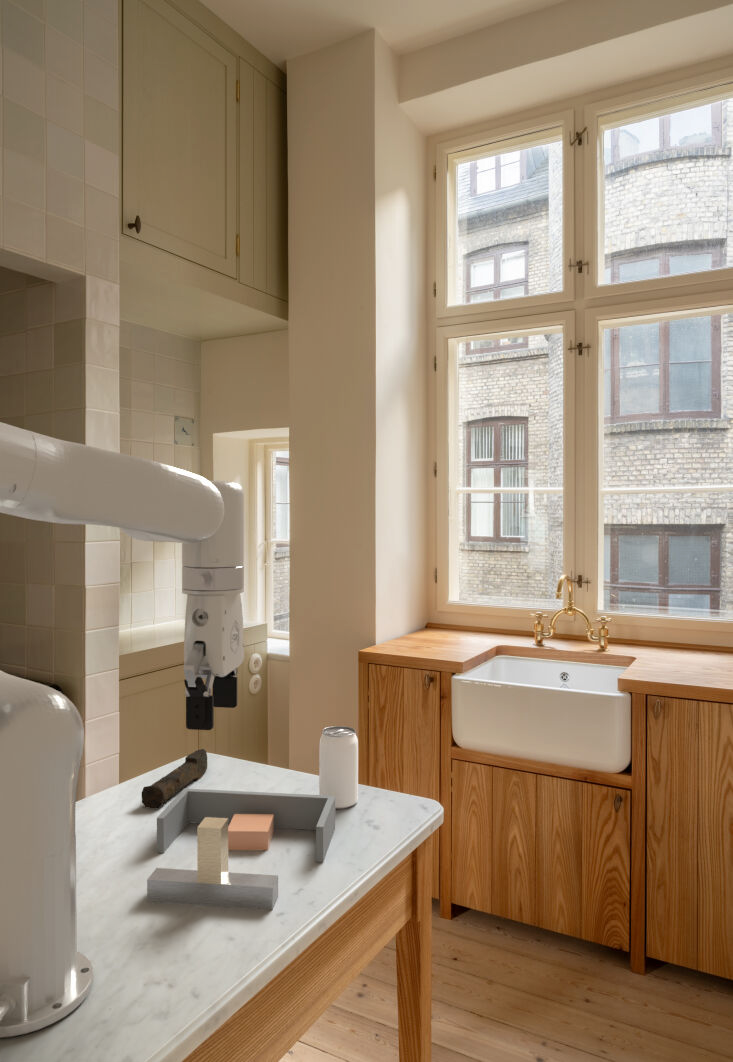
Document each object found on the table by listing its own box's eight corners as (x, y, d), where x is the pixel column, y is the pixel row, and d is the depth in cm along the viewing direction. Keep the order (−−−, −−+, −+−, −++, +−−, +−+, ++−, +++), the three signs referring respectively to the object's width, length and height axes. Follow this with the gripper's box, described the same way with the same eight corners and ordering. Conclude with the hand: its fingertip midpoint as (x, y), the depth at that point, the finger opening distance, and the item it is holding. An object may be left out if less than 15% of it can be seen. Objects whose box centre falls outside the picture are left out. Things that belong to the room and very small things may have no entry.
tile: (268, 852, 106) (268, 831, 106) (226, 851, 106) (226, 831, 106) (273, 833, 112) (273, 814, 112) (234, 833, 112) (234, 813, 112)
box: (323, 862, 103) (323, 826, 102) (156, 852, 105) (156, 817, 105) (335, 828, 114) (335, 795, 113) (184, 819, 116) (184, 788, 116)
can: (365, 801, 124) (366, 730, 123) (338, 813, 119) (338, 739, 119) (338, 791, 128) (338, 722, 128) (311, 802, 123) (311, 731, 123)
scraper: (272, 911, 91) (272, 831, 90) (147, 903, 92) (146, 824, 92) (278, 898, 94) (278, 821, 93) (156, 890, 95) (156, 814, 95)
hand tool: (161, 812, 120) (161, 783, 120) (140, 808, 121) (140, 780, 121) (219, 772, 138) (219, 747, 138) (200, 769, 139) (201, 745, 139)
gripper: (221, 588, 83) (220, 740, 83) (260, 574, 100) (260, 700, 100) (156, 587, 83) (156, 737, 84) (206, 573, 101) (206, 698, 101)
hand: (213, 717), depth 92 cm, fingers open, 9 cm apart
